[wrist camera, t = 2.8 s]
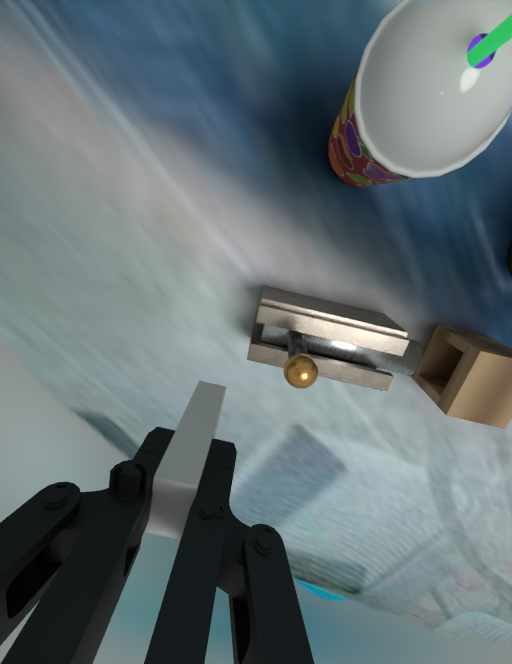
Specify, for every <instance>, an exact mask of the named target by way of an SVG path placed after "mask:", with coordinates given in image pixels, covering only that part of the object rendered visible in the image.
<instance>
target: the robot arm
mask: <svg viewBox="0 0 512 664" xmlns="http://www.w3.org/2000/svg"><path fill="white" fill-rule="evenodd" d="M225 391H226V387H224V386H220V385H216V384H211V383H207V382H203V381H199V383H198V385H197V387H196V389H195V391H194V393H193V395H192V397H191V400H190V402H189V404H188V406H187V408H186V410H185V412H184V414H183V416H182V418H181V421H180V423H179V425H178V427H177V429H176V431H174V430H170V429H166V428H161V427H156V428H155V429H154V430H152V431H151V432H149V433H148V435H147V437H146V438H145V440H144V442H143V443H142V445H141V447H140V448H139V451H138V452H137V453H136V455H135V457H134V458H133V460H127V461H123V462H121V463H119V464H117V465H115V466H114V468H113V469H112V470H111V471H110V482H109V488H107V489H104V490H100V491H94V492H80V489H79V487H78V486H76V485H75V484H74V483H70V482H58V483H55V484H52V485H49V486H47V487H46V488H44V489H42V490H41V491H39V492H38V493H37V494H36V495H34V496H33V497H32V498H31V499H29V500H28V501H27V502H26V503H24V504H23V505H22V506H21V507H20V508H18V509H17V510H16V511H14V512H13V513H12V514H11V515H9V516H8V517H7V518H6V519H5V520H3V521H2V522H1V523H0V645H1V644H2V643H3V642H4V641H5V640H6V639H7V637H8V636H9V635H10V634H11V632H13V630H14V629H15V628H16V627H17V626H18V625H19V623H20V622H21V621H22V620H23V619H24V618H25V616H26V615H27V614H28V613H29V612H30V611H31V610H32V608H33V607H34V606H35V605H36V604H37V603H38V601H39V600H40V601H39V603H38V604H37V606H36V608H35V609H34V611H33V612H32V614H31V616H30V617H29V619H28V620H27V622H26V624H25V625H24V627H23V629H22V630H21V632H20V633H19V635H18V637H17V638H16V640H15V641H14V643H13V645H12V647H11V648H10V650H9V651H8V653H7V655H6V656H5V658H4V659H3V661H2V662H1V664H93V661H94V658H95V656H96V654H97V651H98V649H99V646H100V644H101V642H102V639H103V637H104V634H105V632H106V629H107V627H108V624H109V622H110V619H111V617H112V615H113V612H114V610H115V607H116V605H117V602H118V600H119V598H120V595H121V593H122V590H123V588H124V585H125V583H126V581H127V578H128V576H129V573H130V571H131V568H132V566H133V564H134V561H135V558H136V556H137V554H138V551H139V549H140V544H141V539H142V535H143V533H144V531H145V528H146V526H147V528H146V532H147V533H151V534H156V535H161V536H165V537H170V538H174V539H179V540H181V541H180V544H179V547H178V551H177V554H176V558H175V561H174V565H173V568H172V571H171V575H170V578H169V581H168V584H167V588H166V591H165V595H164V598H163V601H162V605H161V609H160V611H159V615H158V618H157V622H156V625H155V628H154V632H153V635H152V638H151V642H150V645H149V649H148V652H147V655H146V659H145V662H144V664H204V662H205V656H206V649H207V643H208V637H209V631H210V624H211V617H212V611H213V606H214V599H215V593H216V587H219V588H220V589H222V590H223V591H225V592H226V593H227V594H229V607H230V619H231V632H232V644H233V657H234V664H314V661H313V657H312V653H311V649H310V645H309V641H308V637H307V634H306V629H305V625H304V622H303V618H302V614H301V610H300V606H299V602H298V598H297V594H296V590H295V586H294V582H293V578H292V574H291V571H290V567H289V563H288V559H287V555H286V551H285V547H284V543H283V541H282V538H281V536H280V534H279V533H278V532H277V531H276V530H275V529H274V528H272V527H270V526H269V525H265V524H256V525H253V526H252V527H251V528H250V527H249V526H247V525H245V524H244V523H242V522H241V521H239V520H238V519H237V518H236V517H235V516H234V515H233V513H232V511H231V509H230V506H229V498H230V492H231V485H232V479H233V473H234V467H235V461H236V454H237V451H236V448H235V445H234V443H231V442H226V441H222V440H218V439H214V438H215V434H216V430H217V427H218V422H219V418H220V413H221V409H222V404H223V400H224V396H225Z"/></svg>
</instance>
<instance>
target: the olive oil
mask: <svg viewBox="0 0 512 664" xmlns="http://www.w3.org/2000/svg"><path fill="white" fill-rule="evenodd" d="M509 268H510V272H511V274H512V244H511V247H510V251H509Z"/></svg>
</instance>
